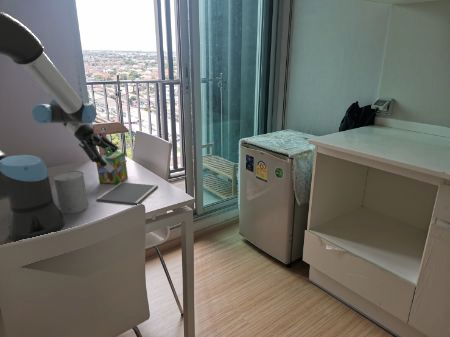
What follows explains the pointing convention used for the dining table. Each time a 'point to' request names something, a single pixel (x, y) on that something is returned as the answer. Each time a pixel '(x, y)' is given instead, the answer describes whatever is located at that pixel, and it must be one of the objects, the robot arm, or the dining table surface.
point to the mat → (127, 193)
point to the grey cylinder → (71, 191)
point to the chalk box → (117, 162)
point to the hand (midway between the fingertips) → (118, 166)
